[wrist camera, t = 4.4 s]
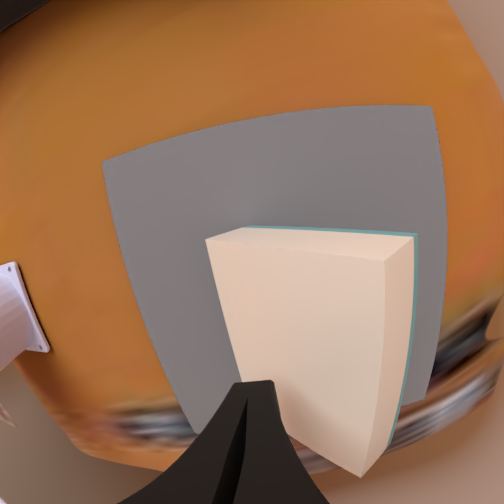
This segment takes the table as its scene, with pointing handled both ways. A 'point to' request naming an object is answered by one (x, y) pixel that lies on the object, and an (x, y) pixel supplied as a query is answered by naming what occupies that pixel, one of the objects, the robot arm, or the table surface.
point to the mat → (272, 222)
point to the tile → (323, 329)
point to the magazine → (16, 10)
